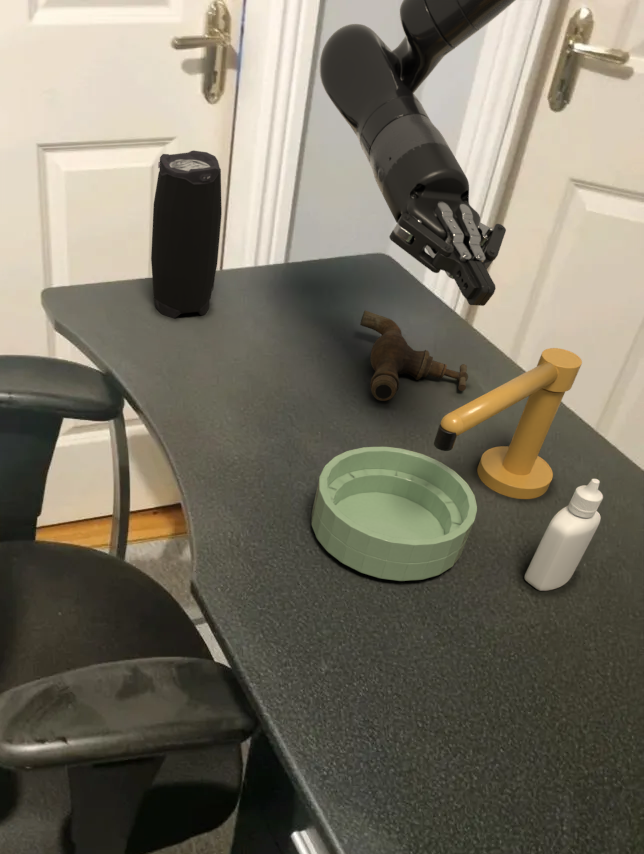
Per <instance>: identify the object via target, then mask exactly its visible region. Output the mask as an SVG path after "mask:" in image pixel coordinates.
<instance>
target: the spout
mask: <svg viewBox="0 0 644 854" xmlns="http://www.w3.org/2000/svg"><path fill="white" fill-rule="evenodd" d="M582 360H583V359H582V358H581V357H580V356H579V355H578V354H576V353H575V352H572V351H570V350H568V349H564V348H558V347H550V348H546V349H544V350H543V351H542V352H541V354H540V357H539V359H538V362H537V364H536V366H534V367H533V368H531V369H530V370H528V371H525V372H523V373H522V374H519V375H518V376H516V377H514V378H512V379H510V380H509V381H506V382H504V383H503V384H501V385H499V386H498V387H496V388H494V389H492V390H490V391H488V392H486V393H485V394H483V395H480V396H478V397H477V398H475V399H473V400H471V401H469V402H467V403H466V404H464V405H462V406H460V407H457V408H456V409H454V410H452V411H450V412H449V413H446V414H445V415H444V416H443V417H442V419H441V421H440V424H438V425H439V426H438V429H437V432H436V435H435V438H434V441H433V446H434V448H435V449H437V450H439V451H443V452H449V451H452V450H453V449H454V447H455V443H456V440H457V437H458V436H460V435H463V434H464V433H466V432H468V431H470V430H471V429H472V428H474V427H476V426H478V425H480V424H481V423H483V422H485V421H487V420H489V419H491V418H492V417H494V416H496V415H497V414H500V413H501V412H503V411H505V410H506V409H509V408H510V407H512V406H514V405H515V404H517V403H520V402H521V401H523V400H525V399H526V398H529V396H530V395H532V394H533V393H535V392H537V391H539V390H540V389H542V388H543V389H546V390H549V391H553V392H565V393H566V392H568V391H571V389H572V388H573V385H574V383H575V380H576V378H577V376H578V373H579V372H580V369H581V367H582V364H583V361H582Z"/></svg>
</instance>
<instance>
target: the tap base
mask: <svg viewBox="0 0 644 854" xmlns="http://www.w3.org/2000/svg"><path fill="white" fill-rule="evenodd" d="M565 394H566V392H553V391H549V390H546V389H543V388H542V389H540V390H539V391H537V392H535V393H533V394H532V395H530V396H528V397H527V401H526V403H525V405H524V408H523V410H522V413H521V415H520V418H519V421H518V423H517V425H516V428H515V431H514V433H513V436H512V438H511V441H510V443H509V445H507V446H506V445H505V446H504V445H502V446H501V445H500V446H495V447H490V448H489V449H487V450H485V451H484V453H482V455H481V457H480V460H479V463H478V465H477V468H476V469H477V470H476V471H477V475H478V478H479V479H480V481H481V482H482V483H483V484H484V485H485V486H486V487H487V488H488V489H490V490H491V491H493V492H495V493H497V494H499V495H502V496H504V497H508V498H511V499H518V500H533V499H537V498H539V497H542V496H543V495H545V494H546V493H547V491H548V490H549V488H550V485H551V482H552V480H553V478H554V472H553V470H552V468H551V466H550V465H549V463H548V462H547V461H546V460H545V459H543V458H542V457H541V456H539V454H540V451H541V449H542V447H543V444H544V443H545V440H546V438H547V435H548V433H549V430H550V428H551V426H552V424H553V421H554V419H555V417H556V415H557V412H558V410H559V407H560V406H561V403H562V400H563V398H564V396H565Z"/></svg>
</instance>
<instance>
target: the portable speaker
mask: <svg viewBox="0 0 644 854" xmlns="http://www.w3.org/2000/svg"><path fill="white" fill-rule="evenodd" d="M157 165H158V169H159V170H158V175H157V180H156V187H155V193H154V199H153V208H152V210H153V211H152V231H151V249H150V250H151V251H150V252H151V255H150V264H151V279H152V291H153V299H154V305H155V309H156V310H157V311H158V312H159V313H160V314H161V315H163V316H167V317H169V318H172V319H176V318H178V317H179V316H180V315H183V314H191V313H192V314H193V313H197V314H198V315H200V316H205V315H206V314H207V312H208V311H209V309H210V300H211V297H212V292H213V291H214V287H215V279H216V273H217V268H218V260H219V250H220V238H221V237H220V236H221V225H222V214H223V213H222V211H223V210H222V207H223V206H222V169H221V167H220V163H219V160H218V158H217V157H216V155H213V154H212V153H209V152H207V151H199V150H195V149H194V150H190V151H188V152H180V153H173V154H172V153H171V154H169V153H162V154H160V156H159V161H158V164H157Z"/></svg>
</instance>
